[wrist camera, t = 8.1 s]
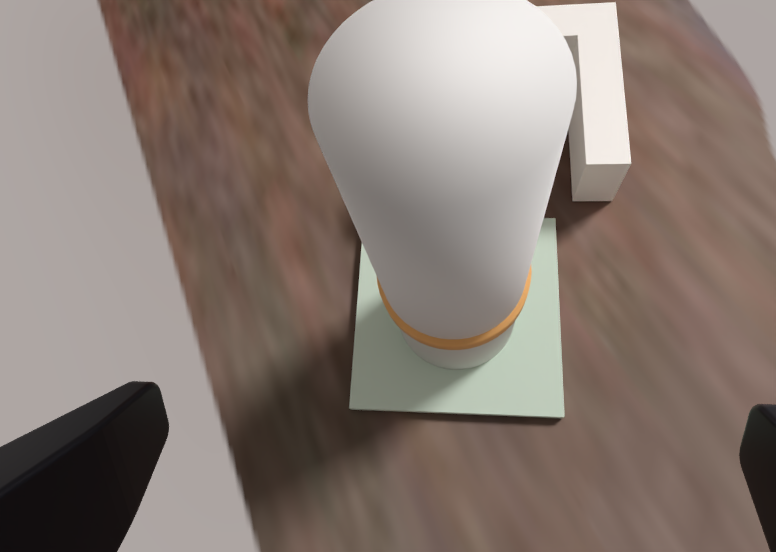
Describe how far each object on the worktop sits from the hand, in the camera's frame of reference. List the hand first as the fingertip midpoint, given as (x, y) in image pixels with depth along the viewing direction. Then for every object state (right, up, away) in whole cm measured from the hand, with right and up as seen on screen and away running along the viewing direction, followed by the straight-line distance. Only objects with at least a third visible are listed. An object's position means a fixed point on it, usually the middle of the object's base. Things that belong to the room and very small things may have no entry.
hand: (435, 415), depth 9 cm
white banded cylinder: (+2, +1, +14) cm, 14 cm away
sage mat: (+2, +1, +15) cm, 15 cm away
